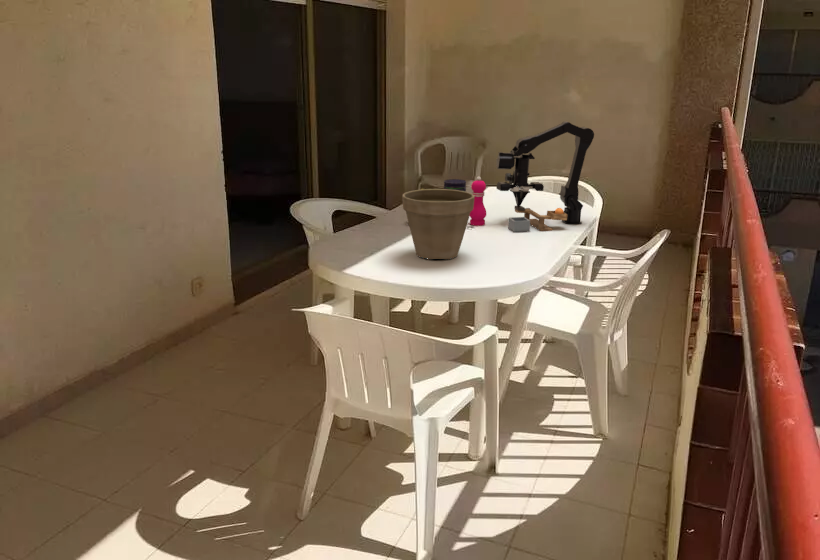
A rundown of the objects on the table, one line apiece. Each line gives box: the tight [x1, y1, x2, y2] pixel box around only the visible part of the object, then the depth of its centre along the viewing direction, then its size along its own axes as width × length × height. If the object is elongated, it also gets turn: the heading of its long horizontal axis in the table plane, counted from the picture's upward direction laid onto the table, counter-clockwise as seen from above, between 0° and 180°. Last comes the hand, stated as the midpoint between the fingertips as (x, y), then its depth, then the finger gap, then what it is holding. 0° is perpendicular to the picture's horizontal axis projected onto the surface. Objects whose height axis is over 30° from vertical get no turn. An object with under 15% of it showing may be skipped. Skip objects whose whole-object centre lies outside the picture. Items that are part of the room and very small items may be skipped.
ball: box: [554, 207, 564, 214], centre depth 270 cm, size 4×4×4 cm
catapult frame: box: [523, 207, 553, 232], centre depth 275 cm, size 6×18×6 cm, turn 11°
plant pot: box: [401, 188, 474, 260], centre depth 232 cm, size 25×25×22 cm
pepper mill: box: [469, 176, 487, 227], centre depth 275 cm, size 7×7×20 cm
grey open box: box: [507, 216, 531, 233], centre depth 268 cm, size 7×7×4 cm
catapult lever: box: [514, 205, 568, 221], centre depth 273 cm, size 17×16×3 cm
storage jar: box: [443, 178, 467, 192], centre depth 292 cm, size 10×10×15 cm
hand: (518, 206), depth 277 cm, fingers closed, pressing on catapult lever
